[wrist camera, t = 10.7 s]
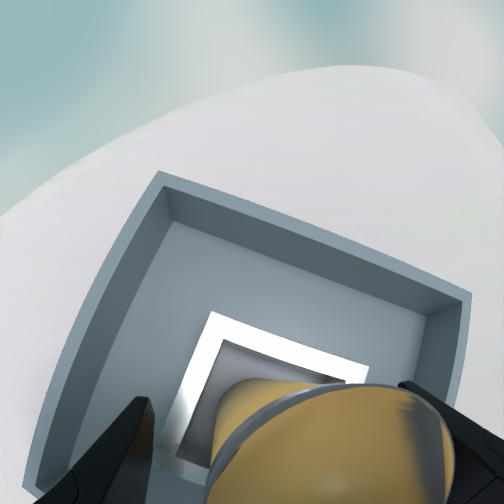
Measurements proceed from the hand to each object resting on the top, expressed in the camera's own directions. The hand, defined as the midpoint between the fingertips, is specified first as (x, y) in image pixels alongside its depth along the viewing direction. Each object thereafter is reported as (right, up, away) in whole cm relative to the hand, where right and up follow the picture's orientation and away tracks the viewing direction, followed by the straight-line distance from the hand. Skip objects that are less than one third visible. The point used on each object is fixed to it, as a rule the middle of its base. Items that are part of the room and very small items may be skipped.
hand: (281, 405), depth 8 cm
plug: (-1, -4, +7) cm, 8 cm away
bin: (-1, -5, +8) cm, 9 cm away
